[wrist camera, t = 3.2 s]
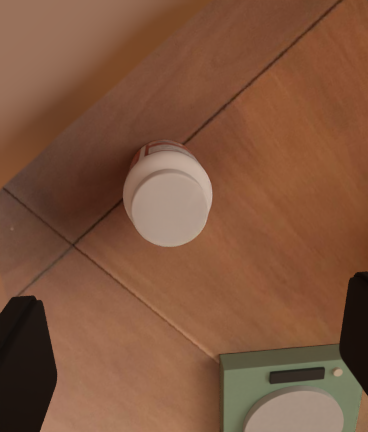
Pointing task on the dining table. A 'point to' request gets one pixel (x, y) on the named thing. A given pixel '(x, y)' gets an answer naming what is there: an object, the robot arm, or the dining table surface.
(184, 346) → the dining table surface
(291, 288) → the dining table surface
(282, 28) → the dining table surface
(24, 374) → the robot arm
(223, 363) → the scale
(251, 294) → the dining table surface
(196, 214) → the pill bottle
